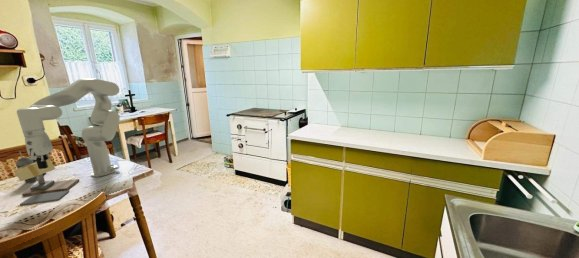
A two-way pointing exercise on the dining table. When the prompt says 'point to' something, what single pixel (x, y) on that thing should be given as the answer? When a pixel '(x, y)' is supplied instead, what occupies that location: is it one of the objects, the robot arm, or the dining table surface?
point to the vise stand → (49, 186)
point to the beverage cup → (25, 162)
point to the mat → (44, 198)
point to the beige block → (33, 170)
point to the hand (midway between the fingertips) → (45, 166)
